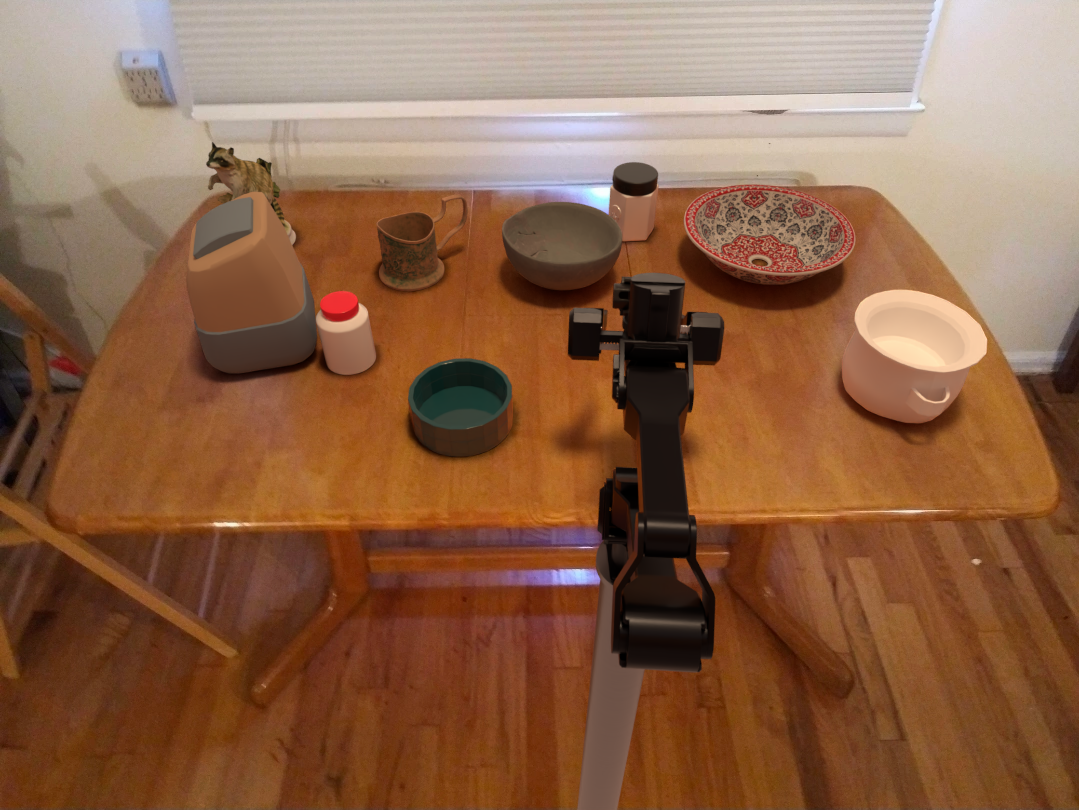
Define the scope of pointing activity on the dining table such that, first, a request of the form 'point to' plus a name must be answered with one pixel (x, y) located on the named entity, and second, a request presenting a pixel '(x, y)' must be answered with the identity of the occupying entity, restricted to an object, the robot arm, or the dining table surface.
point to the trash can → (249, 289)
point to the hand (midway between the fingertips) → (640, 314)
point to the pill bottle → (345, 333)
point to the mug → (413, 248)
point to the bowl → (562, 244)
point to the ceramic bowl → (768, 232)
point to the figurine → (245, 180)
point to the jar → (634, 199)
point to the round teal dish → (461, 407)
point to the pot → (910, 354)
